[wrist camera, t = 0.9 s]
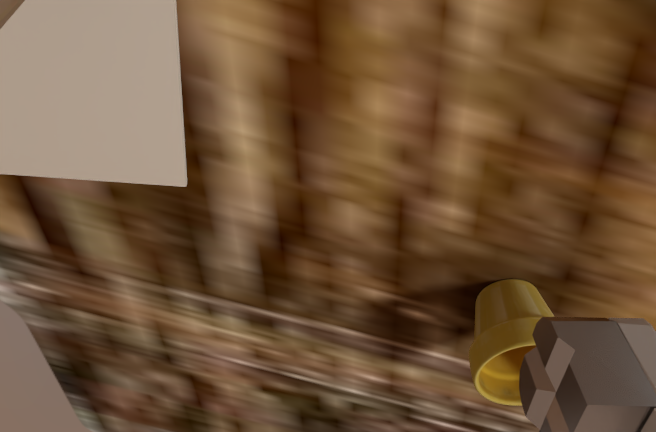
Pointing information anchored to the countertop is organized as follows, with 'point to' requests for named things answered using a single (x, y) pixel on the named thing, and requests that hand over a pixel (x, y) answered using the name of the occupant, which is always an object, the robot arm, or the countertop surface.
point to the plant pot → (504, 337)
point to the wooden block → (8, 9)
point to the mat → (92, 92)
